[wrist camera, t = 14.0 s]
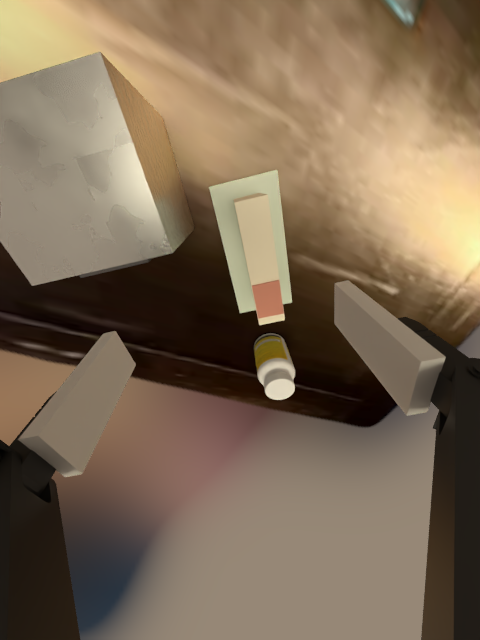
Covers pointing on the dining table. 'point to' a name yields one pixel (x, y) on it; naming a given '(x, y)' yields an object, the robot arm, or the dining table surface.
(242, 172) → the dining table surface
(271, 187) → the pad
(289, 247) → the dining table surface
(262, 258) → the cream rectangular block
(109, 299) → the dining table surface
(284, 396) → the supplement bottle
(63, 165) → the plate
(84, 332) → the dining table surface
